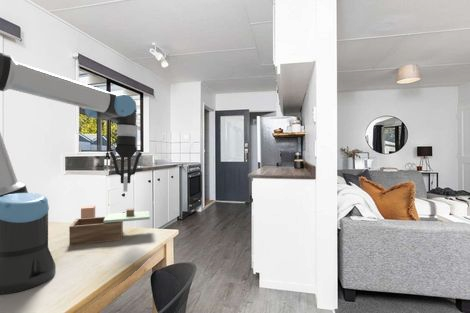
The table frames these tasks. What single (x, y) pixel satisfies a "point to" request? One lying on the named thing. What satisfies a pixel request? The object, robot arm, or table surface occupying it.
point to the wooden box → (94, 231)
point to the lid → (127, 216)
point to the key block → (88, 212)
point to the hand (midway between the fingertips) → (125, 191)
